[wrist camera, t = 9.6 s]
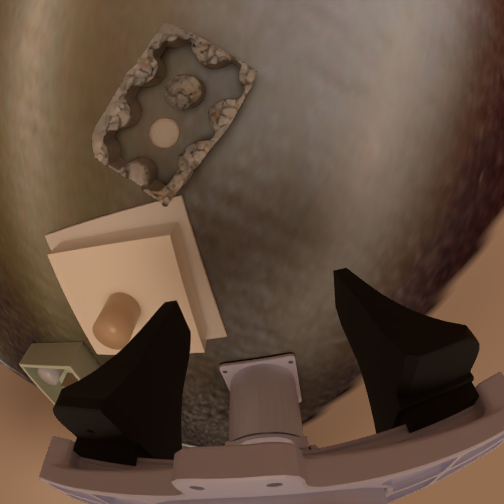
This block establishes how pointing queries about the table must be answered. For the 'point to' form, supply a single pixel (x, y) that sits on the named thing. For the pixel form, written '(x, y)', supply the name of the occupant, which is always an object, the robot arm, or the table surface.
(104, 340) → the lid
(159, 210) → the mat
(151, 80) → the rocky grey tray
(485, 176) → the table surface
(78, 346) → the storage box
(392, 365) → the robot arm
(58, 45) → the table surface
